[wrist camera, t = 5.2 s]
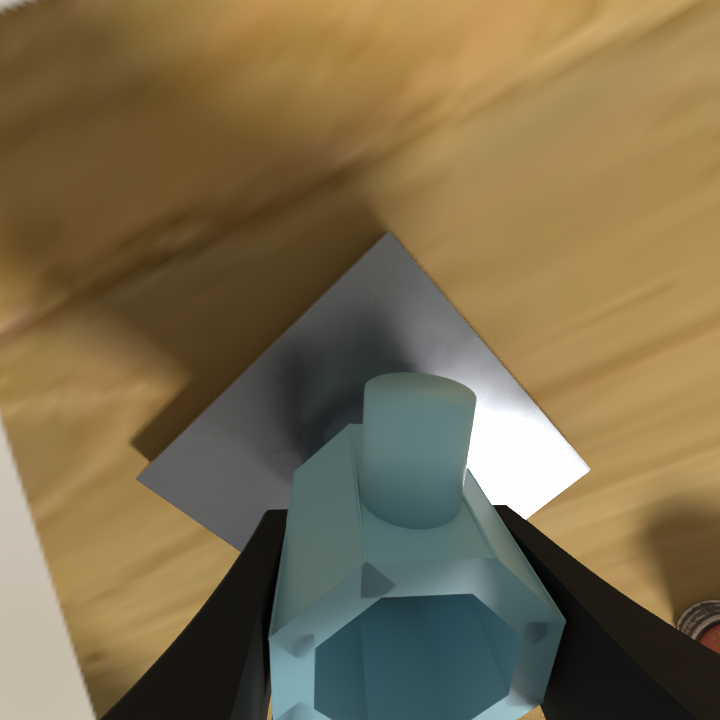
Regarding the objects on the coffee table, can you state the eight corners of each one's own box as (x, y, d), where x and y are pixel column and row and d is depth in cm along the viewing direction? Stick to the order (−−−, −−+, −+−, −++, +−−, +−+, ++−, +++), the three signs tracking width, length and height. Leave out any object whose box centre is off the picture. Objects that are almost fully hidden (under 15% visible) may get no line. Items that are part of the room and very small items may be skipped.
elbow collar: (454, 564, 13) (529, 752, 8) (295, 570, 12) (274, 774, 8) (487, 349, 10) (621, 434, 6) (292, 346, 10) (257, 436, 5)
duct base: (364, 617, 17) (378, 764, 12) (149, 462, 13) (50, 580, 9) (573, 455, 15) (689, 552, 10) (384, 232, 12) (422, 221, 7)
